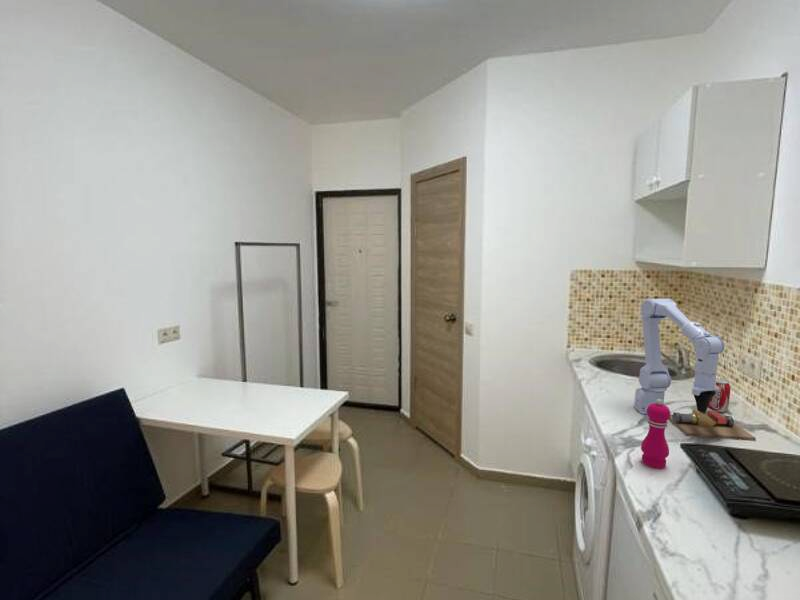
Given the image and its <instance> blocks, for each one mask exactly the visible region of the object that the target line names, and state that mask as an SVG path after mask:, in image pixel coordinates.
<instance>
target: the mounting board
mask: <svg viewBox="0 0 800 600" xmlns="http://www.w3.org/2000/svg"><path fill="white" fill-rule="evenodd" d="M672 416H673V414H670V418H669V419H668V421H670V422H671V423H672V424H673V425H674V426H675V427H677V428H678V429H679V430H680V431H681V432H682V433H683V434H684V435H685V436H686V437H688V436H689V437H700V438H711V439H713V438H714V439H728V440H739V439H741V441H753V440H755V441H756V436H754V435H752V434H751V433H749V432H748V431H747V430H745V429H743V427H740V426H739V425H738V424H736V423H735V422H734V425H733V427H728V426H721V425H716V426H713V427H702V426H697V425H695V424H691V423H674V422H673V418H672Z"/></svg>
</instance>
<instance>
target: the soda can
mask: <svg viewBox="0 0 800 600" xmlns="http://www.w3.org/2000/svg"><path fill="white" fill-rule="evenodd" d="M716 387H718V388H719V390H718V391H716V390H711V391H715V392H716V394H715V395H714V396H713V398H712V399H711V401H710V403H709V406H708V408H709V409H711V410H712V411H716V412H718V413H725V412H728V410H729V405H730V397H731V387H732V386H731V385H730V382H729V381H728V380H726V379H722V378H717V377H716Z"/></svg>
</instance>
